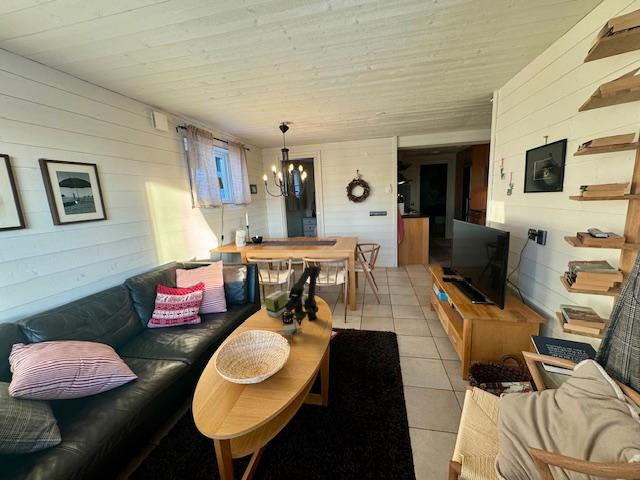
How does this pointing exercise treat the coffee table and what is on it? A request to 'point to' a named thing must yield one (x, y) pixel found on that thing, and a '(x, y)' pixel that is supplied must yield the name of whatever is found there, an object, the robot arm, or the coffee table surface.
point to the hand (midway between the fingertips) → (299, 325)
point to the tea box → (276, 303)
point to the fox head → (302, 296)
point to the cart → (290, 327)
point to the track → (291, 331)
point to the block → (288, 335)
